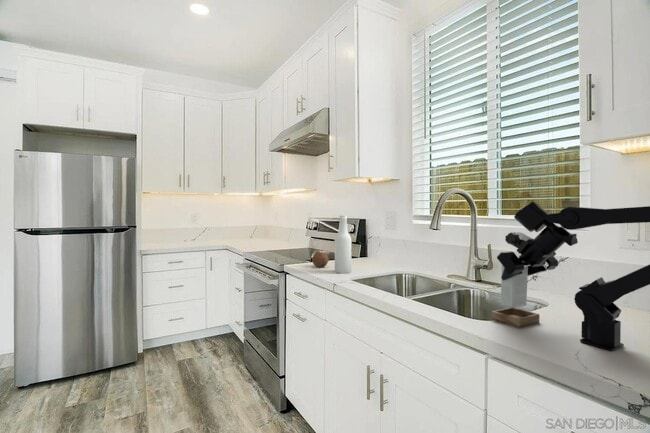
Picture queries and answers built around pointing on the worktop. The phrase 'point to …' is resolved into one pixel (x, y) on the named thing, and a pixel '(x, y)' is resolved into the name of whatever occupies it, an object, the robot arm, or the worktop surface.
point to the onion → (320, 259)
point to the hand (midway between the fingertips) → (509, 278)
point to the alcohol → (343, 247)
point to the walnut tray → (515, 317)
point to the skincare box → (514, 290)
